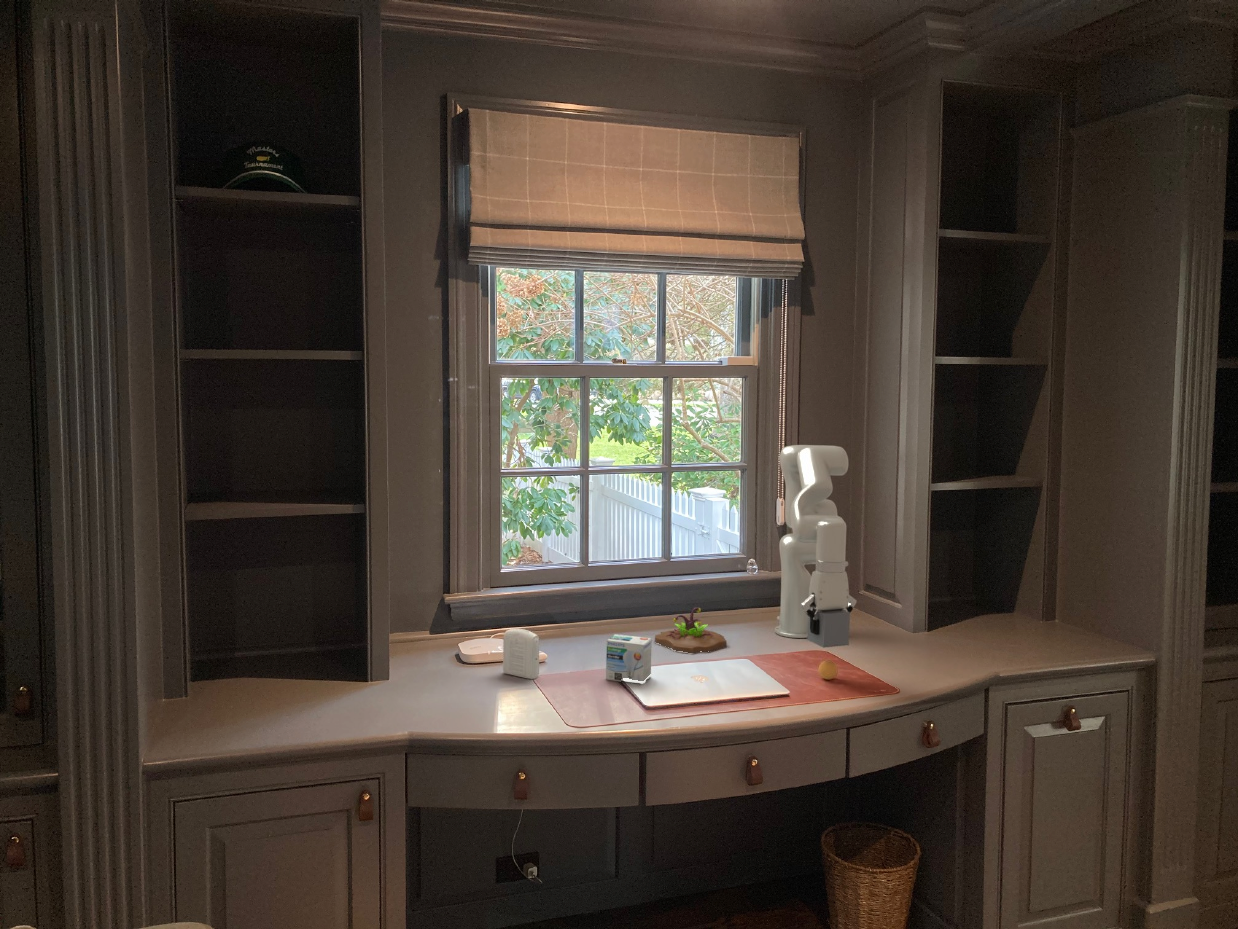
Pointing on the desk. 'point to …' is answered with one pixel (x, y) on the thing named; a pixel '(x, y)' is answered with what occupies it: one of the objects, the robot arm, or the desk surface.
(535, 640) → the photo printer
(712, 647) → the plant
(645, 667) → the light bulb box
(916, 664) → the desk surface
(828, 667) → the ball
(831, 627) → the matte gray cube
